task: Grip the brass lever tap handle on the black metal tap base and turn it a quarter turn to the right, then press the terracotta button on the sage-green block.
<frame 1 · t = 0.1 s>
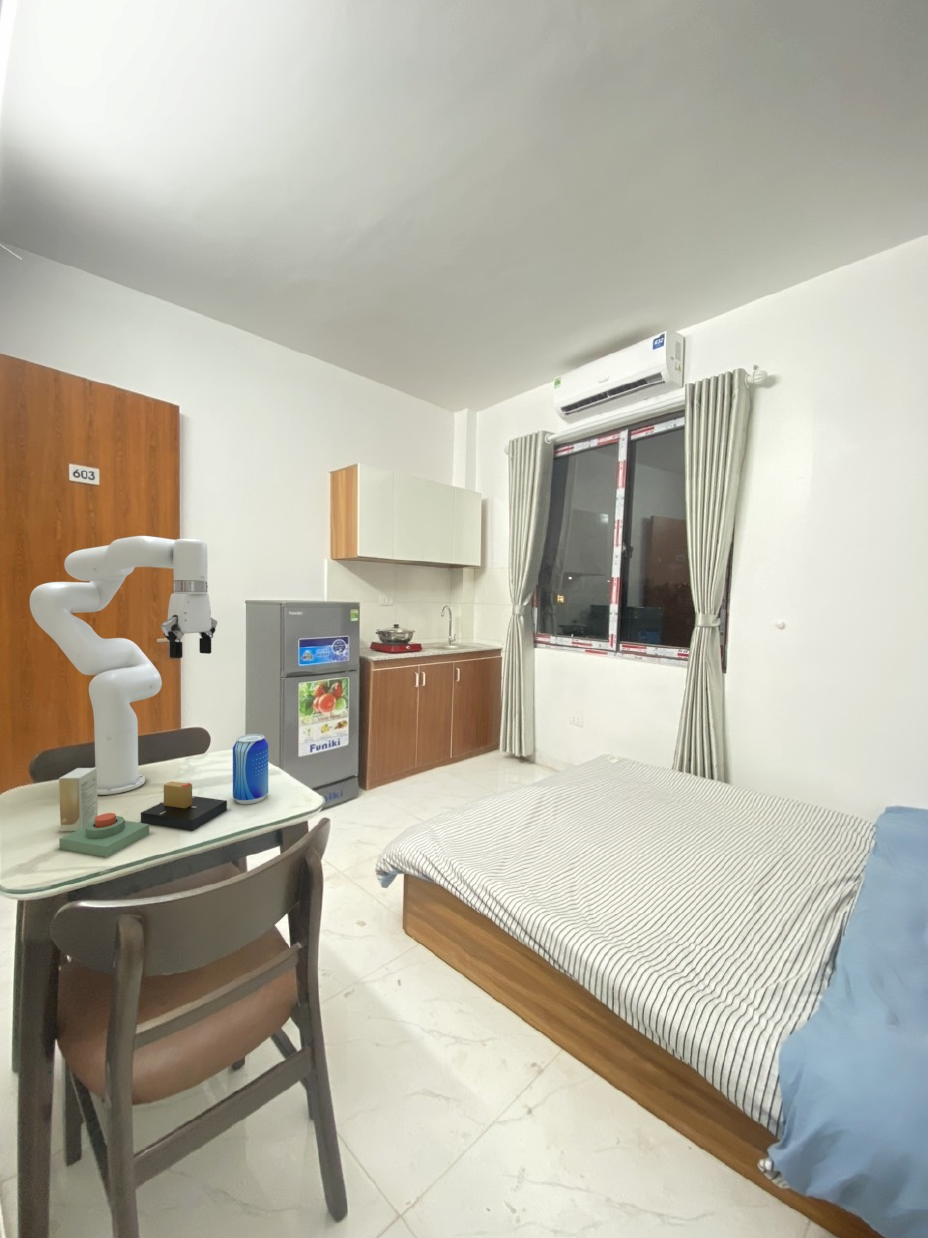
hand: (191, 655, 126), 37 cm above the table, tool pointing down, fingers open, 9 cm apart
beer can: (250, 799, 127), on the table
tap handle: (177, 794, 117), point 5 cm above the table, hinge at 0.0°
tap base: (185, 816, 117), on the table
cosmetic box: (79, 826, 111), on the table
button block: (105, 841, 105), on the table
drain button: (105, 820, 104), point 4 cm above the table, slide at 0.1 cm
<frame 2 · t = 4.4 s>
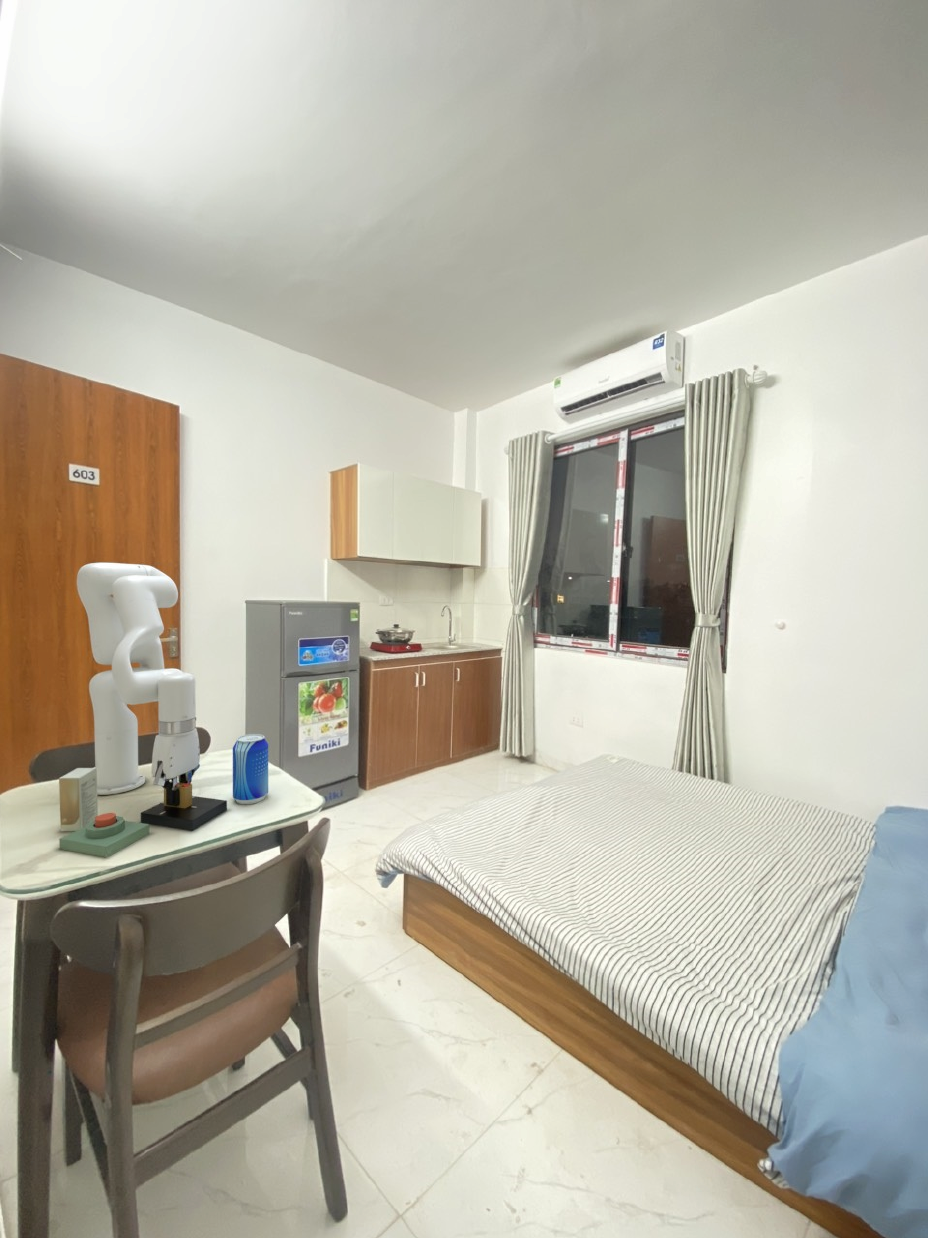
hand: (178, 802, 117), 3 cm above the table, tool pointing down, fingers closed on tap handle, 2 cm apart
tap handle: (177, 794, 117), point 5 cm above the table, hinge at 0.0°, touching gripper
everything else where it was.
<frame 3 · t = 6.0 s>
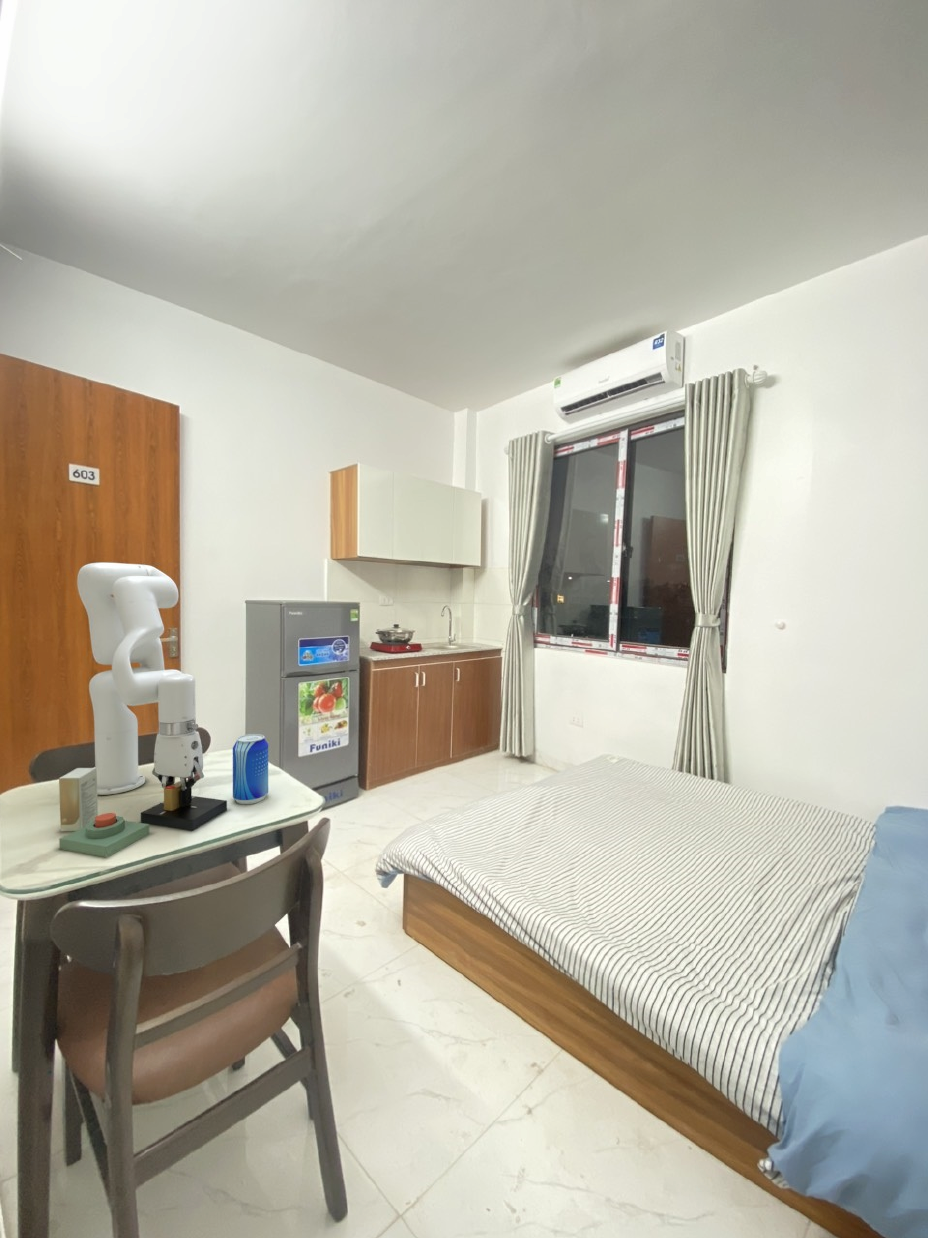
hand: (178, 803, 117), 3 cm above the table, tool pointing down, fingers open, 3 cm apart
tap handle: (177, 794, 117), point 5 cm above the table, hinge at -89.3°
everything else where it was.
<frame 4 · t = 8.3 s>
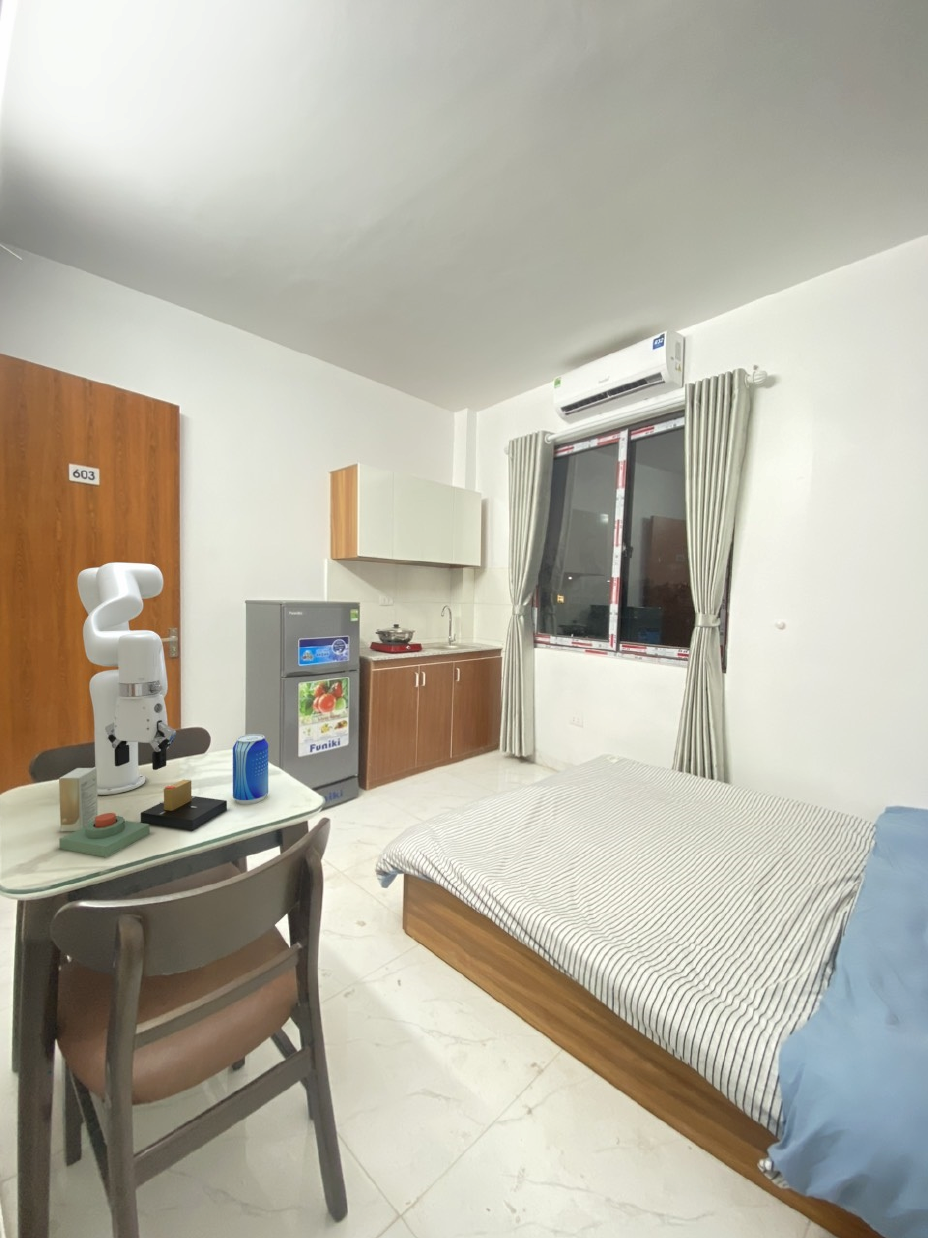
hand: (140, 766, 109), 14 cm above the table, tool pointing down, fingers open, 9 cm apart
nothing on the table moved.
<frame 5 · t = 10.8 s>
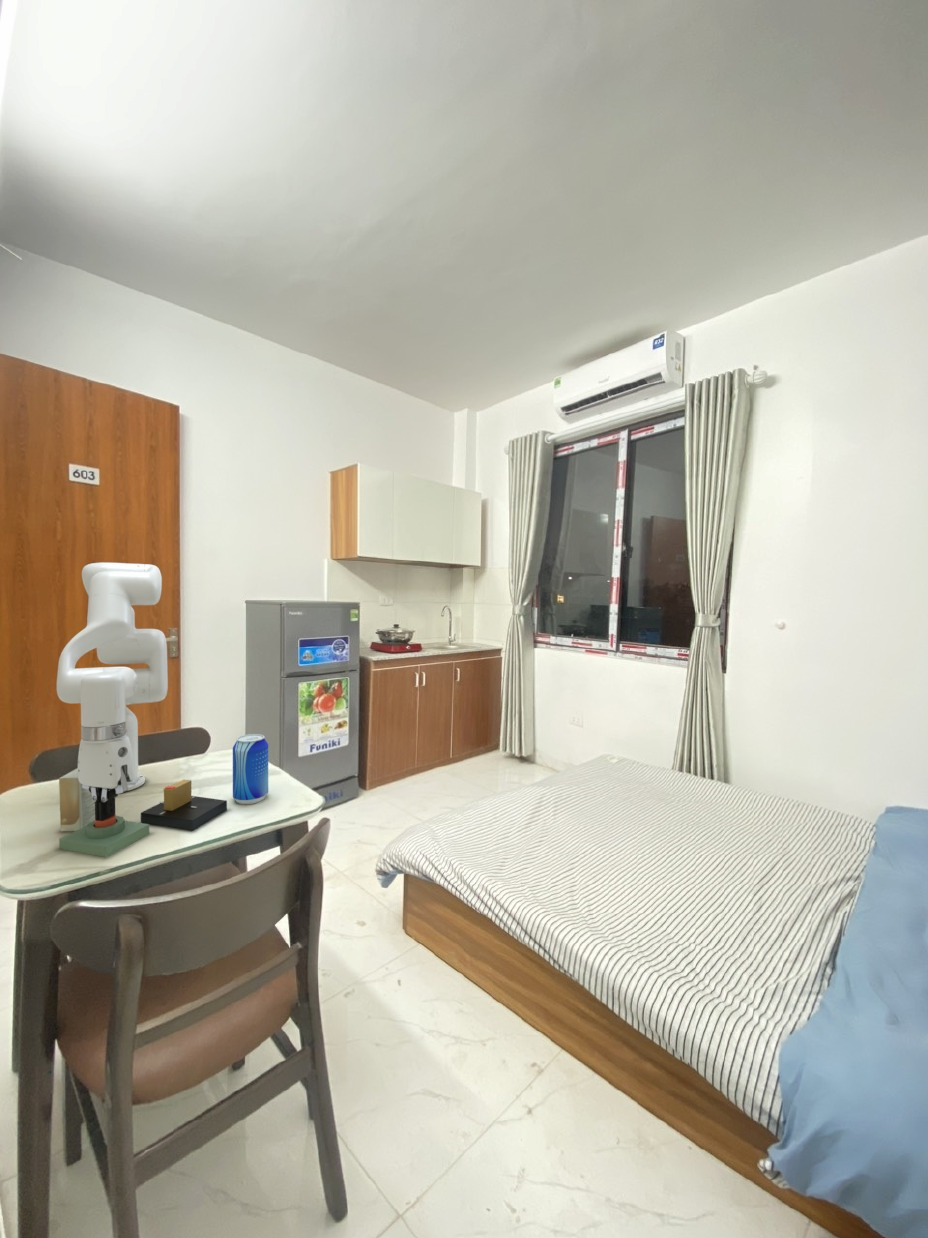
hand: (105, 817, 104), 5 cm above the table, tool pointing down, fingers closed
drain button: (105, 821, 104), point 4 cm above the table, slide at -0.1 cm, touching gripper
everything else where it was.
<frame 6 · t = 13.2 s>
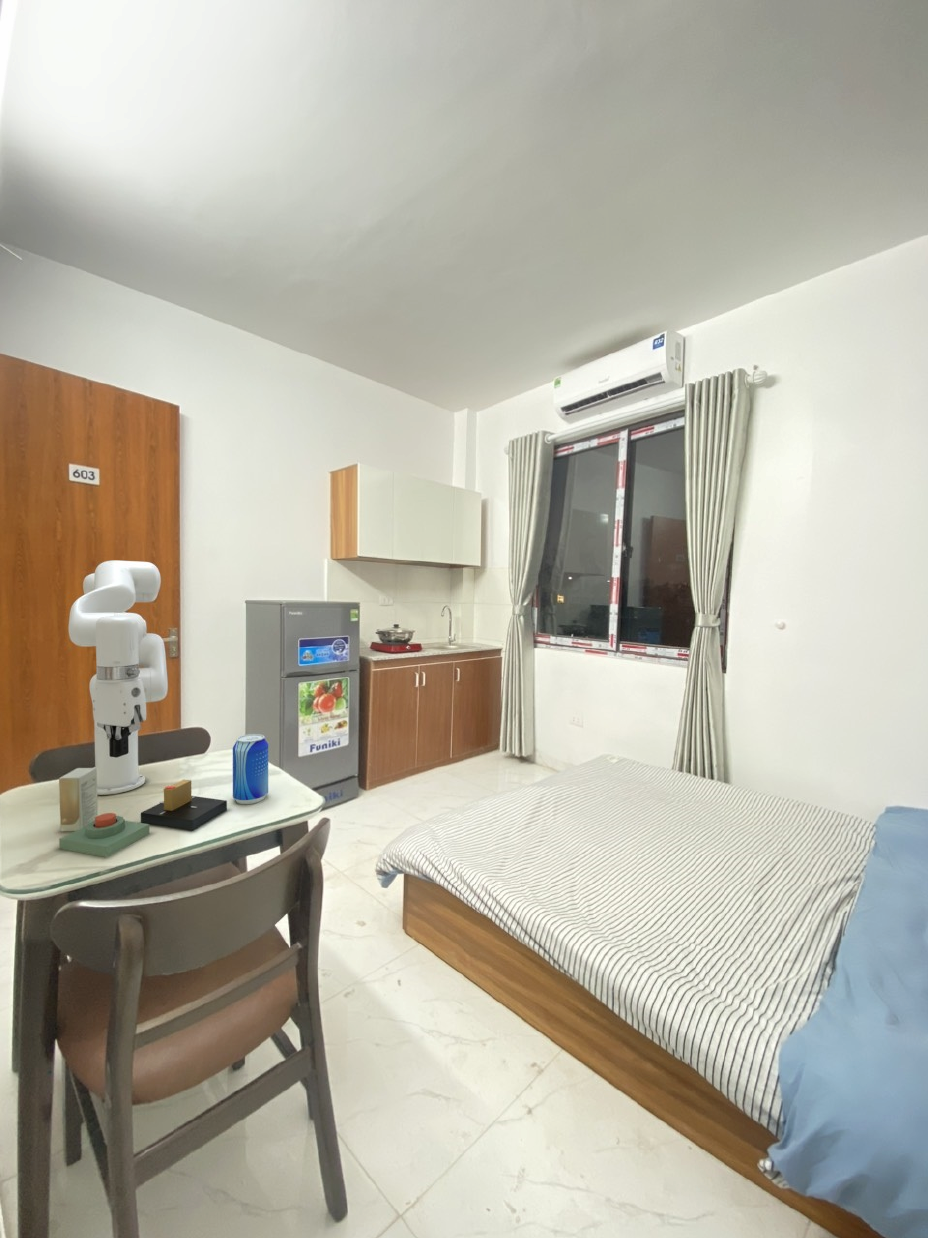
hand: (119, 755, 109), 17 cm above the table, tool pointing down, fingers closed
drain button: (105, 820, 104), point 4 cm above the table, slide at 0.1 cm
everything else where it was.
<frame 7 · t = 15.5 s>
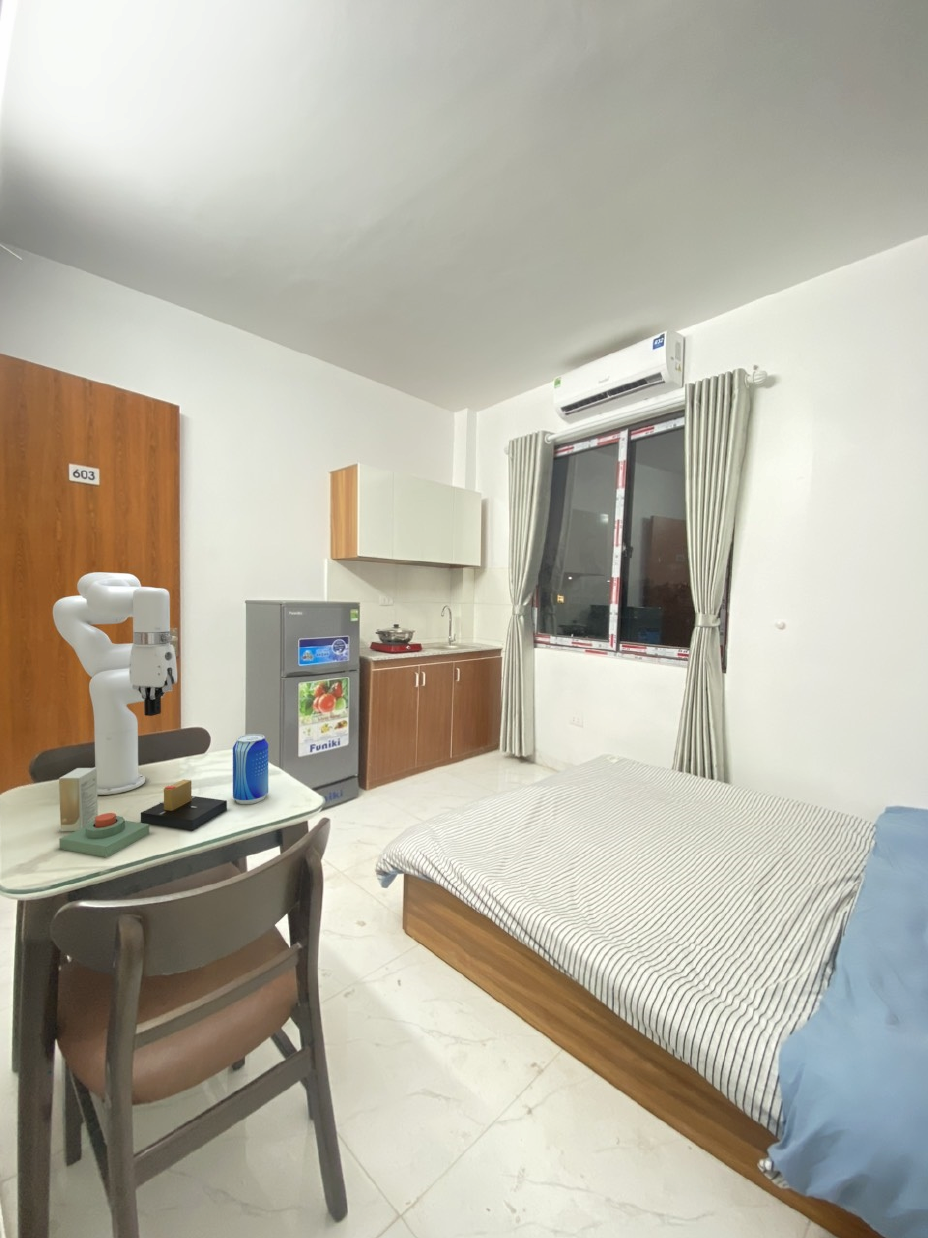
hand: (152, 714, 120), 23 cm above the table, tool pointing down, fingers closed
nothing on the table moved.
at the end: tap handle at -89° (first picture: +0°); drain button pushed in 1.1 cm at the most during the clip and back out by the end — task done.
